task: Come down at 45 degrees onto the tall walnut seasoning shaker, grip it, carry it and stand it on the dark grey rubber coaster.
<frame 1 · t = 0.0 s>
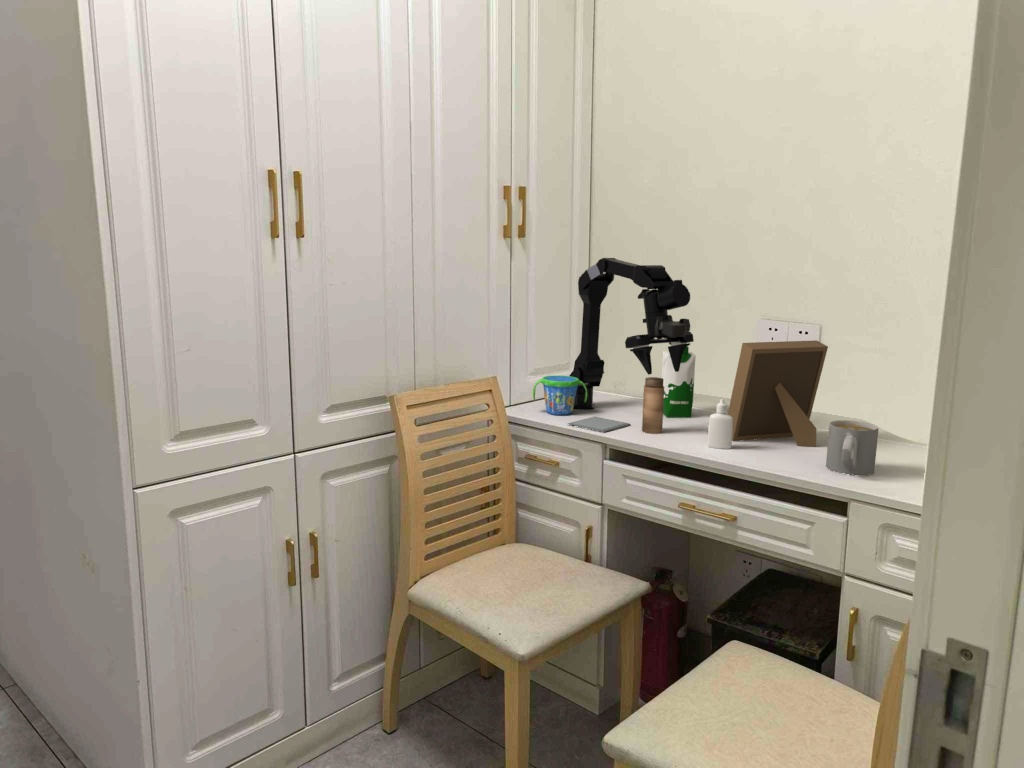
hand: (663, 373, 209), 15 cm above the table, tool pointing down, fingers open, 9 cm apart
snack cup: (559, 413, 232), on the table
eye dropper bottle: (719, 448, 196), on the table
coffee mug: (846, 471, 178), on the table
photo frame: (777, 442, 203), on the table
shaker: (652, 431, 211), on the table
coaster: (599, 425, 217), on the table
milk carton: (675, 415, 232), on the table
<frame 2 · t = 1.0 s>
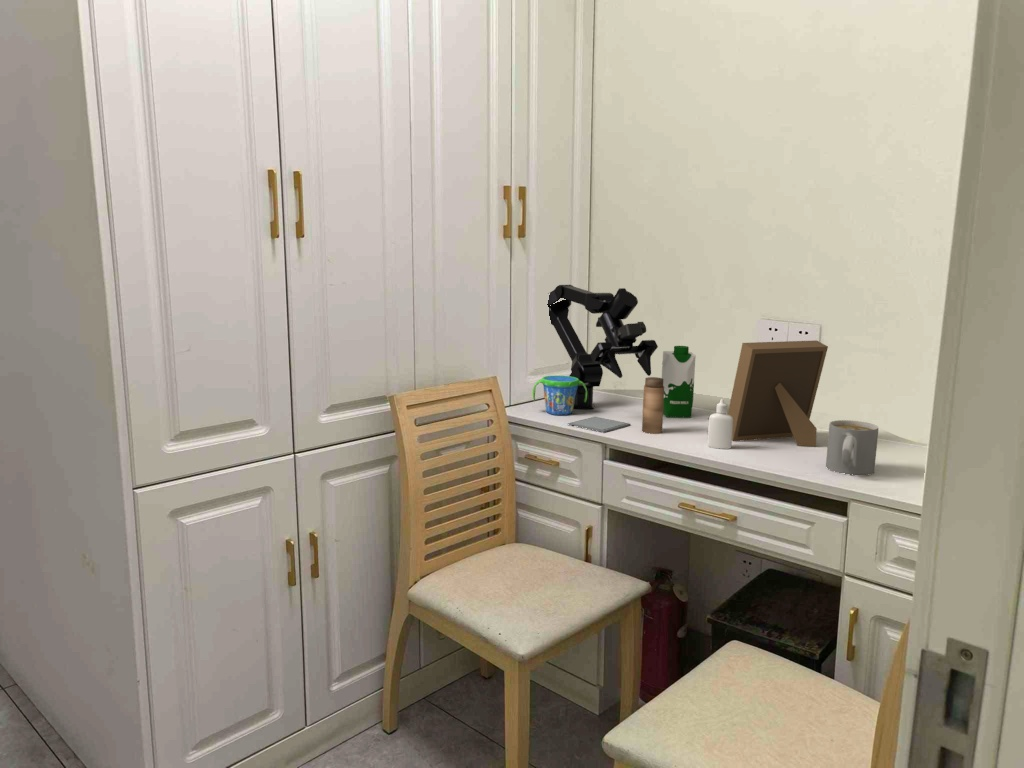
hand: (635, 376, 217), 13 cm above the table, tool tilted 45°, fingers open, 9 cm apart
nothing on the table moved.
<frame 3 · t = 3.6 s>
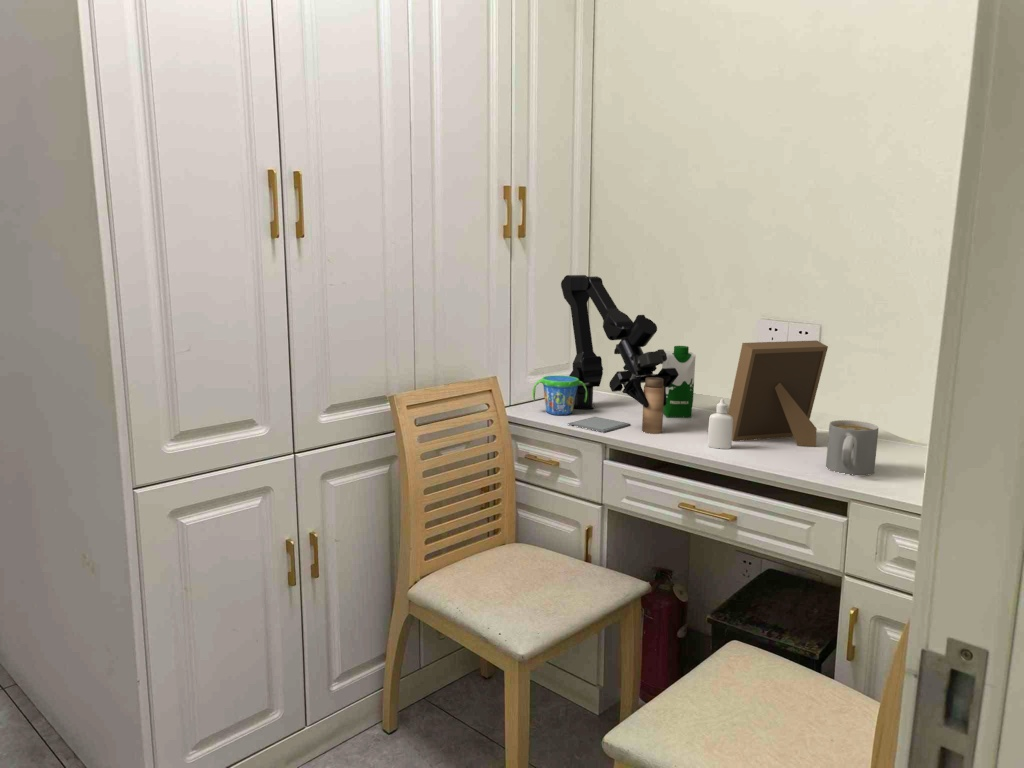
hand: (656, 405, 209), 7 cm above the table, tool tilted 45°, fingers closed on shaker, 5 cm apart
shaker: (652, 431, 211), on the table, touching gripper
everything else where it was.
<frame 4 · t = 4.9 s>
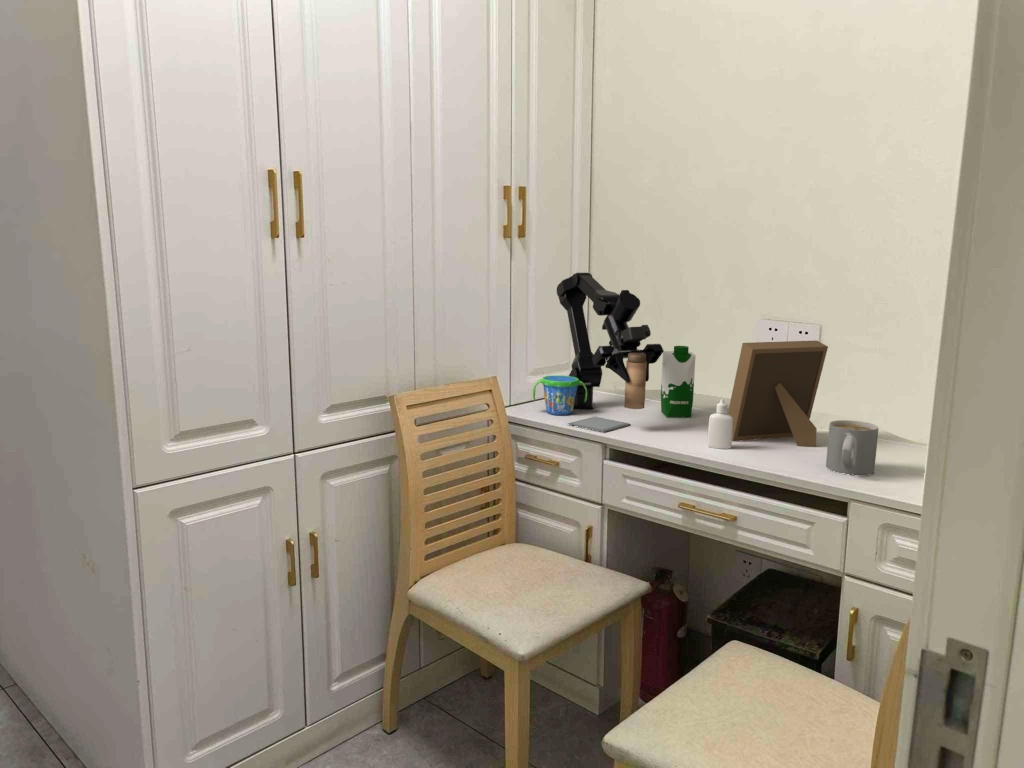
hand: (638, 381, 209), 13 cm above the table, tool tilted 45°, fingers closed on shaker, 5 cm apart
shaker: (634, 406, 211), point 6 cm above the table, touching gripper
everything else where it was.
when the fingers open (8 cm above the table, at t = 6.7 s): shaker stays where it is, resting on coaster.
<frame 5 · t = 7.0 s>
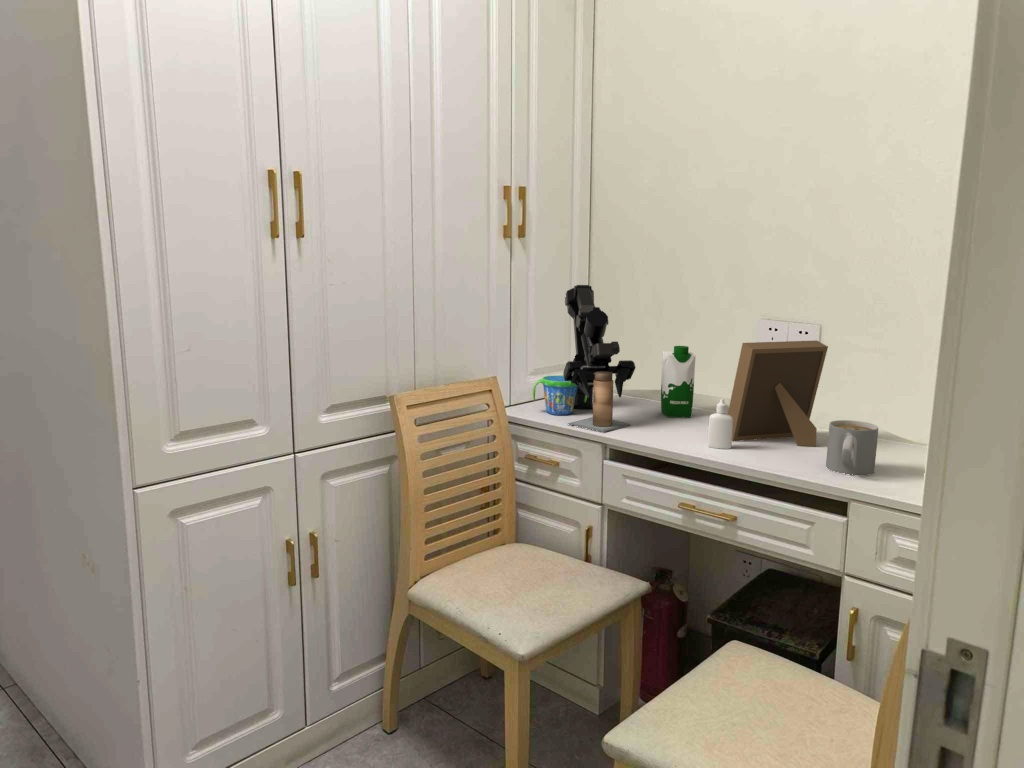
hand: (605, 396, 212), 9 cm above the table, tool tilted 45°, fingers open, 8 cm apart
shaker: (602, 424, 215), point 1 cm above the table, touching coaster
everything else where it was.
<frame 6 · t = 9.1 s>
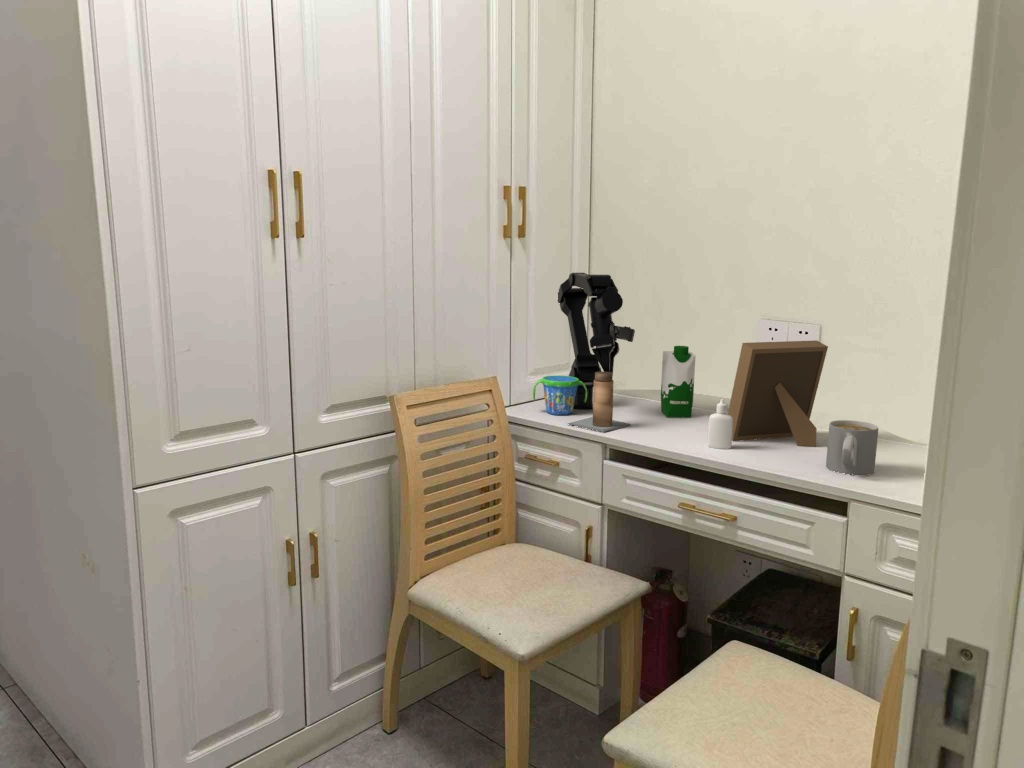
hand: (609, 375, 222), 13 cm above the table, tool tilted 15°, fingers open, 9 cm apart
nothing on the table moved.
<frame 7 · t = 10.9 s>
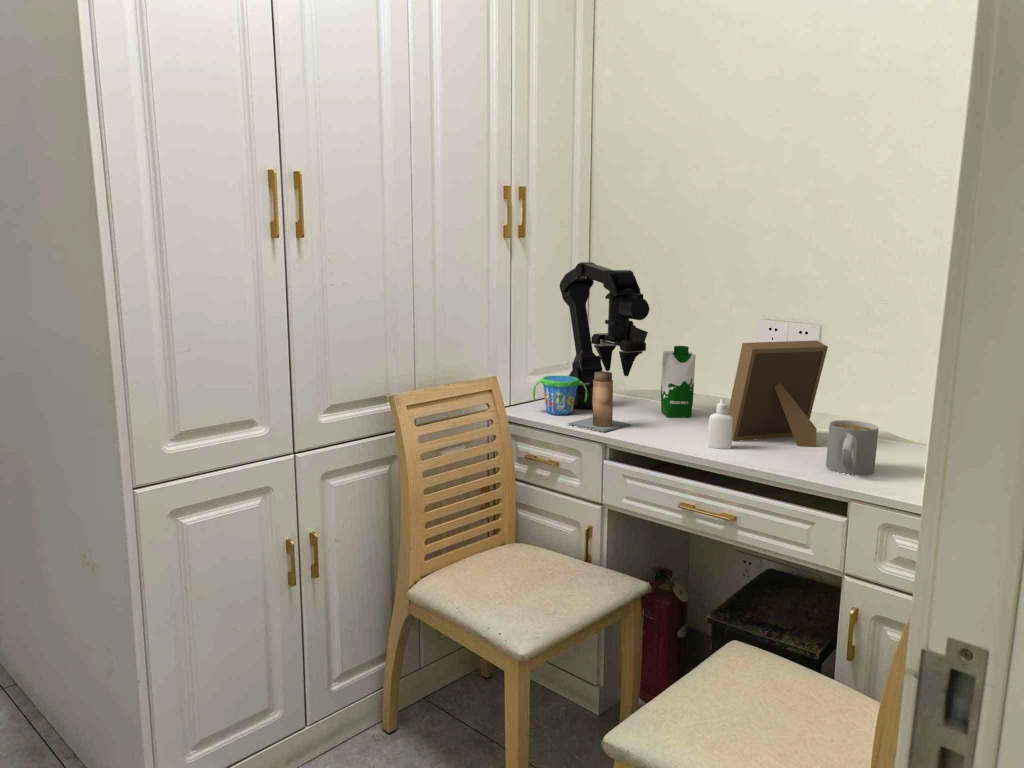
hand: (616, 373, 222), 13 cm above the table, tool pointing down, fingers open, 9 cm apart
nothing on the table moved.
at the end: shaker inside the target area on the coaster (2.2 cm from its centre), point 0.7 cm above the coaster's base; shaker tilted 1°; the gripper is holding nothing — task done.
